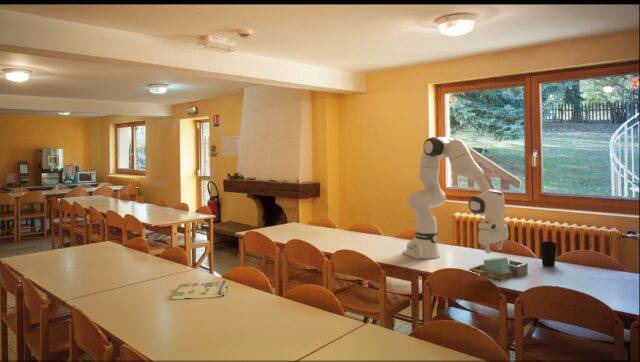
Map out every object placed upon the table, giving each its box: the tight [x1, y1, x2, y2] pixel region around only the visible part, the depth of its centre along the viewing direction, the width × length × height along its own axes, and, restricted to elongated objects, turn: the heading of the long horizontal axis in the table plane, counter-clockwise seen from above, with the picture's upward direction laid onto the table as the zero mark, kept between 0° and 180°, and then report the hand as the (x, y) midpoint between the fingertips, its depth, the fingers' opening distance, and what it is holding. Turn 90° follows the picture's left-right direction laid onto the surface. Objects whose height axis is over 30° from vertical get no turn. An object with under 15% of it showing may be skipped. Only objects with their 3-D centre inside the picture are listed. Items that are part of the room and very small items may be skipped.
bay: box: [508, 259, 529, 278], centre depth 211 cm, size 9×9×5 cm
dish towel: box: [172, 279, 227, 296], centre depth 197 cm, size 17×23×4 cm
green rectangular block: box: [478, 257, 510, 275], centre depth 208 cm, size 13×6×7 cm, turn 35°
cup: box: [540, 241, 558, 268], centre depth 221 cm, size 8×8×12 cm
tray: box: [468, 265, 515, 282], centre depth 209 cm, size 17×11×2 cm, turn 35°
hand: (493, 251), depth 207 cm, fingers open, 8 cm apart
